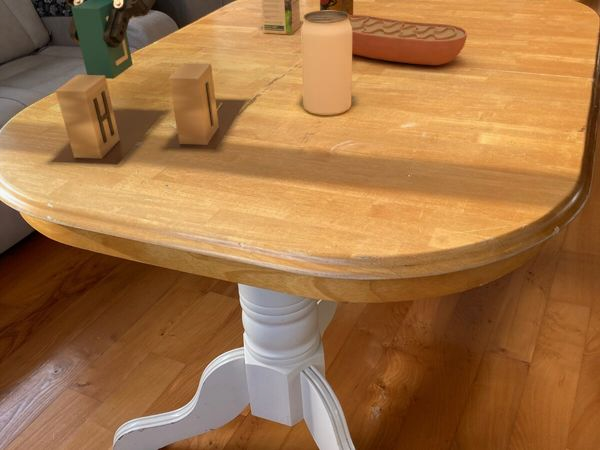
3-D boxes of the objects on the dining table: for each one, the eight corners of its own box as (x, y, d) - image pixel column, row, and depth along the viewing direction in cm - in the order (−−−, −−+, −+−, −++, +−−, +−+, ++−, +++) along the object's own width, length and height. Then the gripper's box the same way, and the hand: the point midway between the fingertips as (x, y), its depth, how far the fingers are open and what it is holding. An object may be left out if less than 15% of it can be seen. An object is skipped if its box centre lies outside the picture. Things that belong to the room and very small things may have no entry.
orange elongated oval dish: (470, 59, 93) (474, 27, 90) (449, 79, 86) (453, 44, 83) (343, 41, 103) (343, 12, 100) (314, 58, 96) (314, 27, 93)
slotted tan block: (167, 155, 68) (153, 80, 63) (204, 105, 81) (195, 40, 76) (216, 157, 67) (207, 81, 62) (246, 107, 80) (240, 40, 75)
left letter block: (53, 169, 66) (30, 93, 61) (109, 116, 79) (93, 49, 74) (119, 172, 65) (101, 95, 60) (165, 118, 77) (153, 50, 72)
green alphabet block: (87, 77, 69) (70, 7, 65) (108, 64, 73) (93, -3, 69) (114, 79, 68) (99, 8, 64) (134, 65, 72) (121, -3, 68)
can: (344, 119, 75) (344, 24, 68) (296, 114, 77) (292, 21, 70) (356, 101, 80) (358, 10, 73) (311, 96, 82) (309, 8, 75)
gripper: (62, -113, 68) (20, 21, 65) (170, -114, 64) (130, 29, 61) (99, -68, 75) (63, 54, 72) (198, -67, 71) (163, 63, 68)
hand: (94, 42), depth 67 cm, fingers closed on green alphabet block, 4 cm apart
